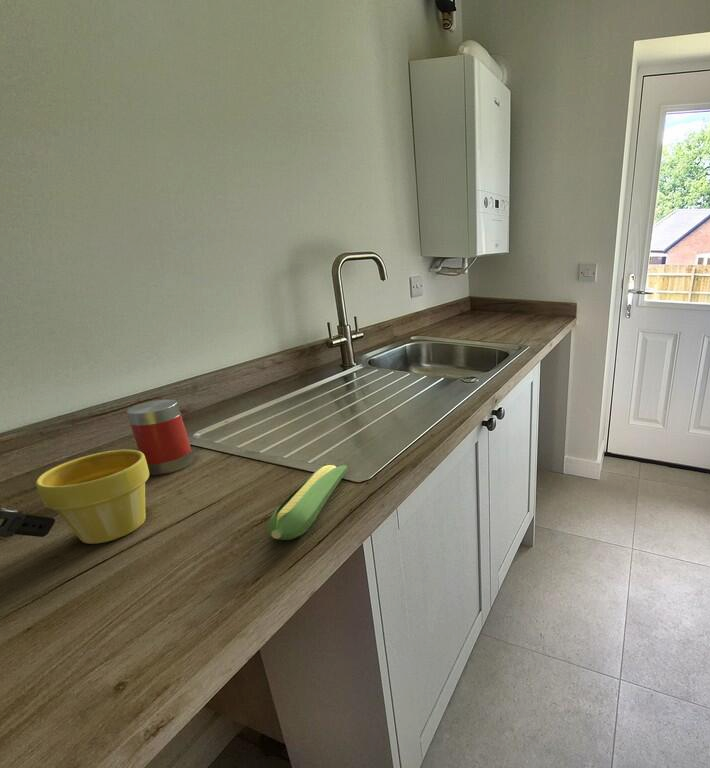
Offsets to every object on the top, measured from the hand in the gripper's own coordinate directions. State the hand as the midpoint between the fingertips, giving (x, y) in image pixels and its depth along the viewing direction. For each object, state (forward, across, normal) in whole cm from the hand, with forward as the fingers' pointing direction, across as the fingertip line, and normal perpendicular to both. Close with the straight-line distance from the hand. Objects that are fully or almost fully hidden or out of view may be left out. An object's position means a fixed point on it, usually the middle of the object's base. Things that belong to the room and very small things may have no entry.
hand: (46, 527), depth 50 cm
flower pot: (+8, 0, -1) cm, 8 cm away
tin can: (+19, +9, -12) cm, 24 cm away
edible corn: (+15, -24, -8) cm, 30 cm away
